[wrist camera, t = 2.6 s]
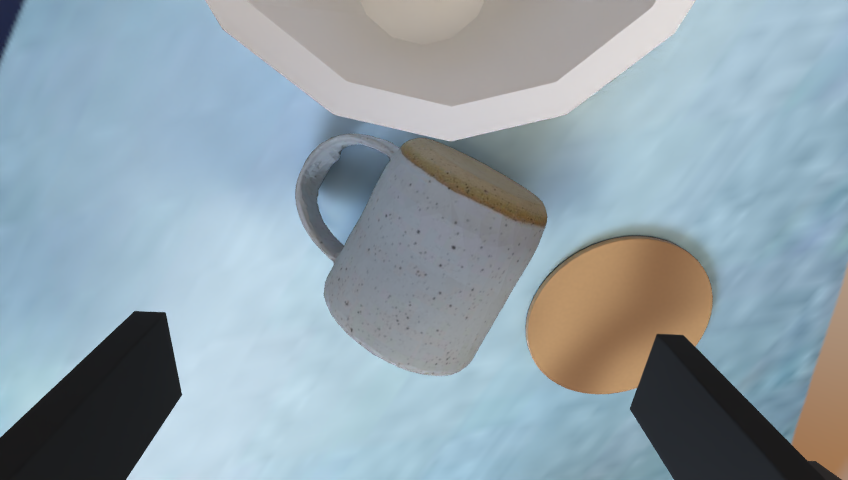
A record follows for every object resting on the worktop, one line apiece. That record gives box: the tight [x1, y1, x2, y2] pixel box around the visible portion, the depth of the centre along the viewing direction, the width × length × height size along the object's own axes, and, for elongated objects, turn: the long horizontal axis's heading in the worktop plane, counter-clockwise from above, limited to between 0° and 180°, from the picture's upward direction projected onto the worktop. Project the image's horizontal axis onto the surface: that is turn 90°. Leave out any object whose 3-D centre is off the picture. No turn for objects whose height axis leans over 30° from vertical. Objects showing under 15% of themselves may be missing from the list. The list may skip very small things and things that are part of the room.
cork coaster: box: [526, 236, 713, 394], centre depth 25 cm, size 11×11×1 cm
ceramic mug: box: [295, 134, 547, 376], centre depth 18 cm, size 11×8×8 cm
